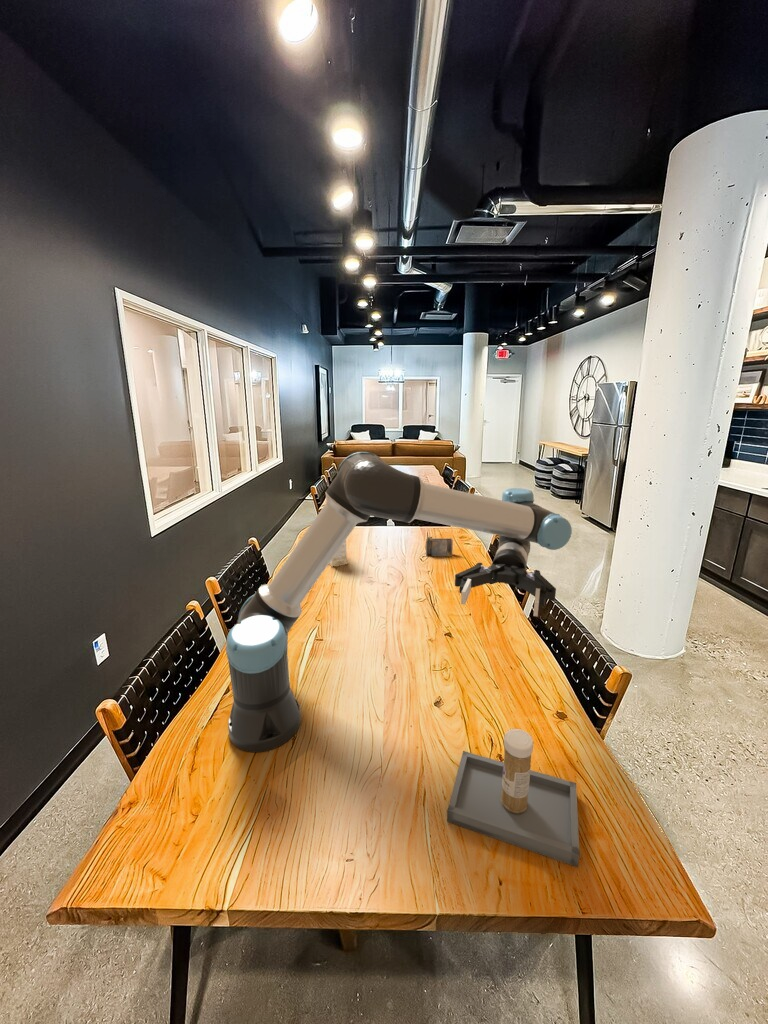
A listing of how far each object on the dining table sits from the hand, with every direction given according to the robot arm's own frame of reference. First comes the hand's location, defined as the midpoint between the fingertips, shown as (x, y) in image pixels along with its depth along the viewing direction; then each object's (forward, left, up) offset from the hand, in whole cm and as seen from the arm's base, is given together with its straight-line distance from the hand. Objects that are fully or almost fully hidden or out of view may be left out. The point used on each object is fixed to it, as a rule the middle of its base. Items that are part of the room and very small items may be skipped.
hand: (498, 603), depth 82 cm
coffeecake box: (-77, +75, -30) cm, 112 cm away
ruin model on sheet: (-36, +96, -31) cm, 107 cm away
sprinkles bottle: (+6, -16, -29) cm, 34 cm away
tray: (+6, -16, -30) cm, 34 cm away
